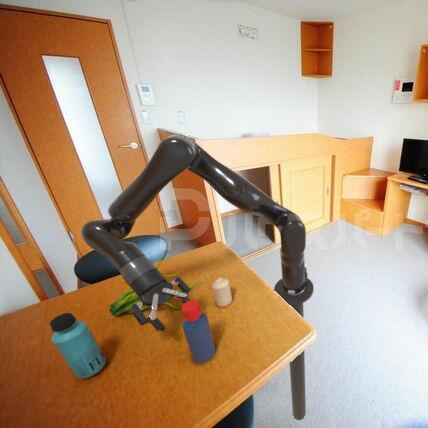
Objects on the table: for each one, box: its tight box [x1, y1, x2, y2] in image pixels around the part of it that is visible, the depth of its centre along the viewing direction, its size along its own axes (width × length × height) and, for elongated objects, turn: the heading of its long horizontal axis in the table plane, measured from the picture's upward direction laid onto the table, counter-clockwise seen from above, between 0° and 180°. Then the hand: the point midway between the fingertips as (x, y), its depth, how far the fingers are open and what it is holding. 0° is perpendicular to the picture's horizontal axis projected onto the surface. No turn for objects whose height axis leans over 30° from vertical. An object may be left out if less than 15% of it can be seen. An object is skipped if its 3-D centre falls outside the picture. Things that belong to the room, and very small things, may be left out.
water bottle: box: [181, 311, 216, 364], centre depth 66 cm, size 6×6×18 cm
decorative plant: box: [108, 255, 210, 317], centre depth 86 cm, size 18×30×15 cm, turn 94°
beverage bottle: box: [49, 312, 107, 379], centre depth 61 cm, size 6×7×20 cm
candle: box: [211, 277, 233, 308], centre depth 87 cm, size 6×6×10 cm
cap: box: [181, 299, 202, 322], centre depth 63 cm, size 4×4×4 cm
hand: (178, 318), depth 69 cm, fingers open, 8 cm apart
